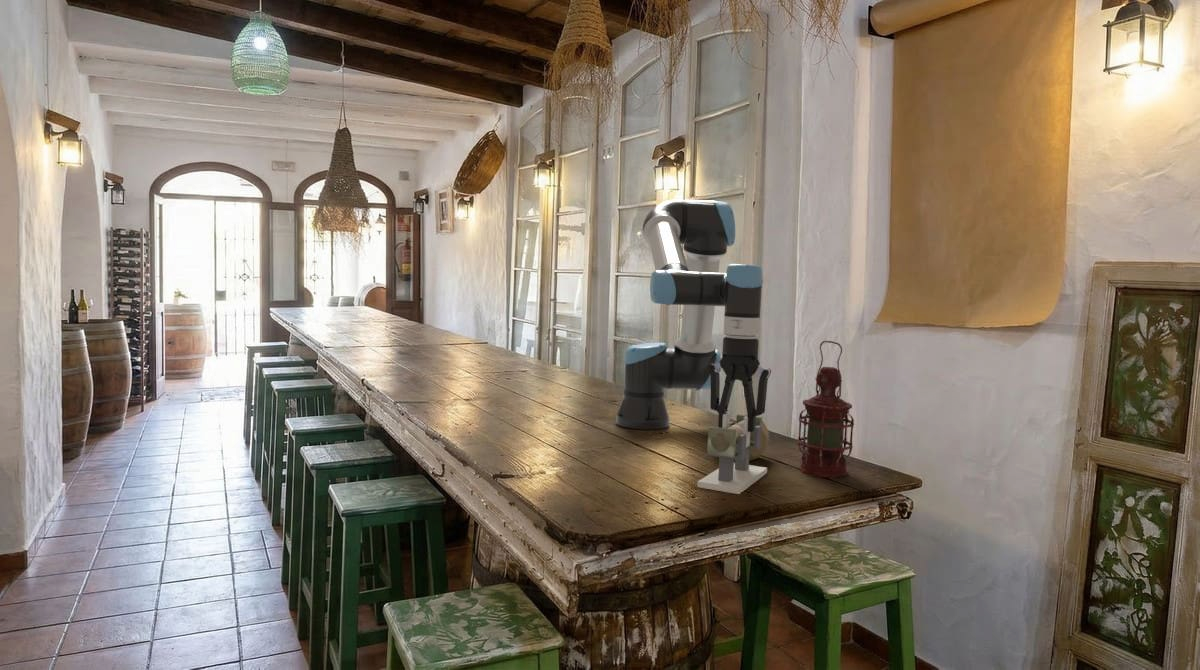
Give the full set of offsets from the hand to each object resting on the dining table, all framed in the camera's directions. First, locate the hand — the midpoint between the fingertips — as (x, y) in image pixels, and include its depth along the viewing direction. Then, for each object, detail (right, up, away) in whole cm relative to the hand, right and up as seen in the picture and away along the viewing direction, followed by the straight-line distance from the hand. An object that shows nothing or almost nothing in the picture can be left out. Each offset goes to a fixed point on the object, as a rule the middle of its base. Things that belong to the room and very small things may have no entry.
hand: (735, 444), depth 172 cm
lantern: (+22, -8, +11) cm, 25 cm away
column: (0, 0, 0) cm, 0 cm away
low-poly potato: (+5, -6, +21) cm, 22 cm away
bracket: (0, -8, +1) cm, 8 cm away
